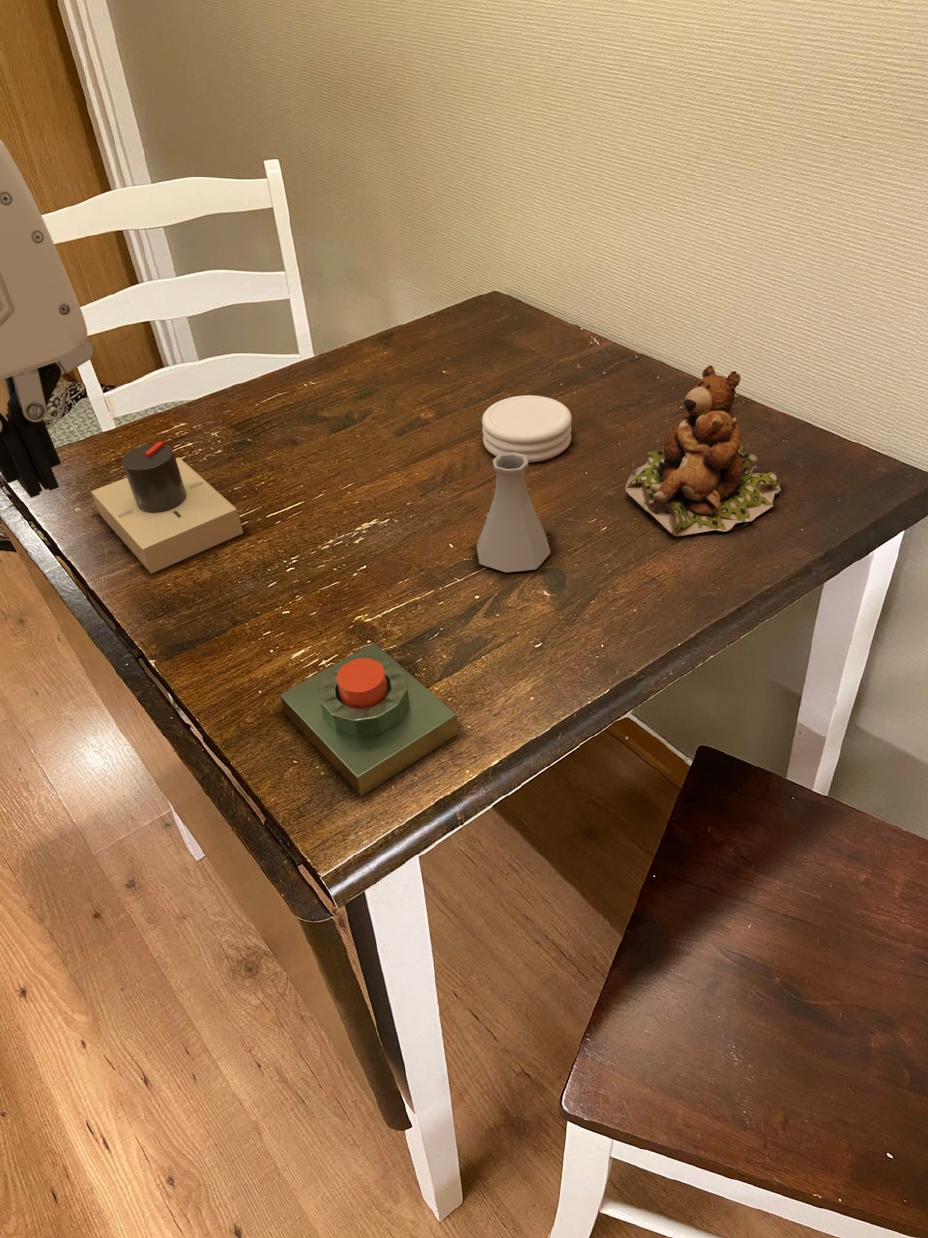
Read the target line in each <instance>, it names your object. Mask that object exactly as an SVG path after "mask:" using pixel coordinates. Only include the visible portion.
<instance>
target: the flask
mask: <svg viewBox="0 0 928 1238" xmlns="http://www.w3.org/2000/svg"><path fill="white" fill-rule="evenodd" d="M492 464H493V470H494V472H495V473H496V482H495V489H494V496H493V499H492V501H491V505H490V508H489V511H488V514H487V517H486V520H485V522H484V524H483V527H482V530H481V532H480V535H479V538H478V541H477V543H476V551H477V559H478V564H479V565H481V566H484V567H487V568H491V569H494V570H497V571H500V572H503V573H513V572H515V573H516V572H524V571H525V572H526V571H534V570H538V568H539V567H540V566H541V565H542V564H543V563H544V561H545V560H546V559H547V558H548V557H549V555H551V548H550V545H549V541H548V538H547V534H546V532H545V530H544V528H543V527H544V526H543V525H542V523H541V521H540V518H539V516H538V514H537V512H536V509H535V507H534V505H533V502H532V500H531V498H530V495H529V491H528V487H527V483H526V470H527V469H528V467H529V463H528V460H527V456H526V455H523V454H519V453H515V452H510V453H500V454H499V455H498V456H497V457H496V456H495V458H493V459H492Z"/></svg>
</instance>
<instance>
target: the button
mask: <svg viewBox="0 0 928 1238" xmlns="http://www.w3.org/2000/svg"><path fill="white" fill-rule="evenodd" d="M337 684H338V688H339V693H340V697H341V699H342V701H343V702H344V703H345V704H346V705H348V706H350V707H353V708H365V707H372V706H374V705H376V704H378V703H379V702H381V701H382V700H383V699H384V697H385V696H386V694H387V690H388V687H387V681H386V675H385V670H384V667H383V666H382V665H381V664H380V663H379V662H378V661H376V660H373V659H368V658H361V659H355V660H352V661H350V662H348V663H346V664H345V665H343V666H342V667H341V668H340V670H339V671H338V673H337Z"/></svg>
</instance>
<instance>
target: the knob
mask: <svg viewBox="0 0 928 1238" xmlns="http://www.w3.org/2000/svg"><path fill="white" fill-rule="evenodd" d="M176 458H177V457H176V455H175V452H174V450H173V448H172V447H171V446H169V445H166V444H165V442H164V441H158V442H156V443H152V444H151V443H150V444H144V445H141V446H138V447H135V448H133V449H131V450H130V451H128V452H127V453H126V454H124V456H123V457H122V459H121V465H122V468H123V471H124V473H125V476H126V477H125V478H127V479H128V482H129V485H130V488H131V490H132V493H133V496H134V499H135V501H136V504H137V507H138V508H139V509H140V510H142V511H145V512H151V513H156V512H163V511H167V510H170V509H172V508H175V507H176V506H178V505H180V504H181V503H182V502H183V501H184V500H185V498H186V490H185V487H184V484H183V481H182V477H181V474H180V471H179V468H178V465H177V462H176Z"/></svg>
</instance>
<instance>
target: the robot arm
mask: <svg viewBox="0 0 928 1238" xmlns="http://www.w3.org/2000/svg"><path fill="white" fill-rule="evenodd" d="M59 254H60V253H59V252H58V250H57V247H56V244H55V243H54V240H53V238H52V236H51V233H50V231H49V229H48V227H47V225H46V223H45V220H44V218H43V216H42V214H41V211H40V210H39V207H38V205H37V203H36V201H35V198H34V196H33V195H32V193H31V191H30V189H29V187H28V185H27V182H26V180H25V179H24V177H23V175H22V173H21V171H20V169H19V167H18V165H17V163H16V161H15V160H14V158H13V157H12V154H11V153H10V151H9V149H8V148H7V146H6V145H5V143H4V141H3V140H2V139H0V381H2V380H4V384H5V388H6V393H7V397H8V401H7V403H6V406H7V408H6V410H7V413H6V414H5V416H4V415H3V413H1V412H0V475H1V477H2V478H3V480H4V481H5V483H6V484H11V483H13V482H16V481H17V482H18V483H19V484H20V486H21V487H22V488H23V490H24V491H25V492H26V494H27V496H29V498H30V499H33V498H35V497H37V496H40V495H41V492H43V490H45V491H47V490H49V491H51V492H52V491H54V490H56V489H58V488H60V486H59V483H58V480H57V478H56V475H55V474H54V471H53V469H52V468H55V467H58V466H60V465H61V464H62V463H61V459H60V456H59V455H58V452H57V450H56V447H55V444H54V442H53V439H52V437H51V435H50V432H49V429H48V427H47V426H46V423H45V418H46V417H47V414H48V407H47V405H48V403H49V401H50V399H51V397H52V395H53V393H54V391H55V389H56V387H57V385H58V383H59V381H60V379H61V377H62V376H63V375H65V374H69V373H71V372H72V371H74V370H75V369H77V368H78V367H79V368H80V366H82V365H83V364H85V363H87V362H88V361H90V360H92V358H93V357H94V355H95V349H94V346H93V344H92V343H91V341H90V340H89V339H88V328H87V325H86V324H87V323H86V321H85V320H86V319H85V317H84V314H83V310H82V308H81V305H80V303H79V301H78V300H79V299H78V298H77V295H76V292H75V290H74V288H73V285H72V283H71V280H70V278H69V276H68V274H67V271H66V269H65V267H64V264H63V262H62V259H61V256H60V255H59Z"/></svg>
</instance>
